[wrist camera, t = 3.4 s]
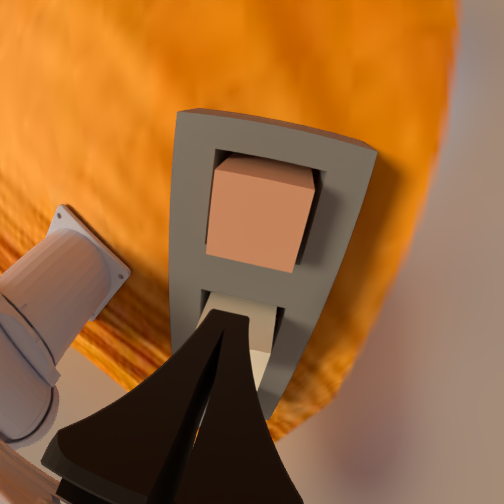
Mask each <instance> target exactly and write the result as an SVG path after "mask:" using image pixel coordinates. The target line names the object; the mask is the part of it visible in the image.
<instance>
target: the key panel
mask: <svg viewBox="0 0 504 504" xmlns="http://www.w3.org/2000/svg"><path fill="white" fill-rule="evenodd" d="M228 151H233V152H239V153H244V154H250V155H255V156H260V157H265V158H270V159H275V160H280V161H285V162H289V163H294V164H298V165H302V166H307V167H311V168H315V169H319V170H318V174H317V178H316V182H315V186H314V188H315V192H314V196H313V200H312V203H311V207H310V211H309V214H308V218H307V222H306V225H305V229H304V233H303V236H302V240H301V243H300V247H299V250H298V254H297V257H296V261H295V264H294V268H293V271H292V273H289V272H285V271H280V270H275V269H271V268H266V267H262V266H257V265H253V264H248V263H244V262H239V261H235V260H230V259H226V258H221V257H217V256H213V255H208V254H206V247H207V236H208V226H209V217H210V207H211V198H212V190H213V181H214V173H215V169H216V168H217V167H218V166H219V165H220V164H221V163H223V162H224V161H225V160H226V159H227V157H228ZM377 153H378V152H377V151H376V150H375V149H373V148H372V147H370V146H369V145H368V144H366V143H365V142H363V141H360V140H357V139H353V138H350V137H347V136H343V135H339V134H336V133H332V132H328V131H324V130H320V129H316V128H312V127H308V126H304V125H299V124H295V123H290V122H285V121H280V120H275V119H270V118H265V117H259V116H253V115H247V114H241V113H234V112H227V111H219V110H211V109H202V108H196V109H190V110H184V111H178V112H177V119H176V128H175V139H174V150H173V163H172V177H171V195H170V220H169V305H170V330H171V347H172V355H173V354H174V353H175V352H176V351H177V350H178V349H179V348H180V347H181V346H182V345H183V344H184V343H185V341H186V340H187V339H188V338H189V337H190V336H191V335H192V334H193V332H194V331H195V330H196V327H197V325H198V322H199V320H200V317H201V315H202V313H203V310H204V308H205V305H206V303H207V301H208V298H209V296H210V293H211V291H212V292H216V293H220V294H224V295H229V296H233V297H237V298H242V299H246V300H251V301H255V302H260V303H264V304H269V305H274V306H278V307H280V310H279V313H278V316H277V319H276V322H275V326H274V333H273V341H272V348H271V354H270V357H269V360H268V363H267V366H266V368H265V371H264V374H263V377H262V379H261V382H260V385H259V388H258V390H257V394H258V398H259V402H260V405H261V409H262V412H263V415H264V419H265V420H269V419H270V417H271V415H272V413H273V412H274V410H275V408H276V406H277V404H278V402H279V400H280V398H281V396H282V395H283V393H284V391H285V389H286V387H287V385H288V383H289V381H290V379H291V377H292V375H293V373H294V371H295V369H296V367H297V365H298V362H299V360H300V358H301V356H302V354H303V352H304V350H305V348H306V345H307V343H308V341H309V339H310V337H311V335H312V332H313V330H314V328H315V326H316V323H317V321H318V319H319V316H320V314H321V312H322V309H323V307H324V305H325V302H326V300H327V298H328V295H329V293H330V290H331V288H332V285H333V283H334V280H335V278H336V275H337V273H338V270H339V268H340V265H341V262H342V260H343V257H344V254H345V252H346V249H347V246H348V244H349V241H350V238H351V235H352V232H353V229H354V227H355V224H356V221H357V218H358V215H359V212H360V209H361V206H362V203H363V200H364V197H365V194H366V190H367V187H368V184H369V181H370V177H371V174H372V171H373V167H374V164H375V160H376V157H377Z"/></svg>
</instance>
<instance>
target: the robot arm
mask: <svg viewBox="0 0 504 504" xmlns="http://www.w3.org/2000/svg"><path fill="white" fill-rule="evenodd" d="M60 214H61V215H60ZM121 274H122V275H123V276H122V275H121ZM130 275H131V271H130V269H129V268H128V267H127V266H126V265H125V264H124V263H123V262H122V261H121V260H120V259H119V258H118V257H117V256H116V255H115V254H113V253H112V252H111V251H110V250H109V249H108V248H107V247H106V246H105V245H104V244H103V243H102V242H101V241H100V240H99V239H98V238H97V237H96V236H95V235H94V234H93V233H92V232H91V231H90V230H89V229H88V228H87V227H86V226H85V225H84V224H83V223H82V222H81V221H80V220H79V219H78V218H77V217H76V216H75V215H74V214H73V213H72V212H71V211H70V210H69V209H68V208H67V206H66V205H64V204H61V205H59V206H58V207H57V210H56V212H55V215H54V217H53V220H52V222H51V225H50V227H49V230H48V233H47V235H46V238H44V239H43V240H42V241H41V242H39V243H38V244H37V245H36V246H34V247H33V248H32V249H31V250H30V251H28V252H27V253H26V254H25V255H24V256H22V257H21V258H20V259H19V260H18V261H17V262H15V263H14V264H13V265H12V266H11V267H10V268H9V269H8V270H6V271H5V272H4V273H3V274H2V275H1V276H0V504H61V503H60V500H61V501H63V502H65V503H66V504H304V503H303V500H302V498H301V496H300V495H299V493H298V491H297V490H296V488H295V486H294V484H293V483H292V481H291V479H290V477H289V475H288V473H287V471H286V469H285V467H284V465H283V463H282V461H281V459H280V457H279V455H278V452H277V450H276V448H275V445H274V442H273V440H272V438H271V435H270V433H269V430H268V427H267V424H266V421H265V419H264V415H263V412H262V409H261V405H260V402H259V398H258V394H257V390H256V386H255V381H254V376H253V371H252V364H251V357H250V348H249V322H250V318H249V317H248V316H245V315H240V314H236V313H231V312H227V311H222V310H218V309H211V310H210V311H209V313H208V314H207V316H206V317H205V318H204V320H203V321H202V322H201V324H200V325H199V326H198V328H197V329H196V330H195V331H194V332H193V334H192V335H191V336H190V337H189V338H188V339H187V340H186V341H185V343H184V344H183V345H182V346H181V347H180V348H179V349H178V350H177V351H176V352H175V353H174V354H173V355H172V356H171V357H170V358H169V359H168V360H167V361H166V362H165V363H164V364H163V365H162V366H161V367H160V368H159V369H157V370H156V371H155V372H154V373H153V374H152V375H150V376H149V377H148V378H147V379H146V380H144V381H143V382H142V383H141V384H139V385H138V386H137V387H135V388H134V389H132V390H131V391H130V392H128V393H127V394H126V395H124V396H123V397H121V398H120V399H118V400H117V401H115V402H113V403H112V404H110V405H108V406H106V407H105V408H103V409H101V410H100V411H98V412H96V413H94V414H92V415H91V416H89V417H87V418H85V419H83V420H80V421H78V422H76V423H74V424H71V425H69V426H67V427H65V428H62V429H60V430H58V432H57V433H56V435H55V436H54V438H53V439H52V440H51V442H50V443H49V445H48V447H47V449H46V451H45V453H44V455H43V457H42V459H41V464H42V465H43V466H45V467H46V468H48V469H49V470H51V471H52V472H54V473H56V474H57V475H59V476H60V477H62V480H61V482H59V481H57V480H55V479H54V478H52V477H51V476H49V475H47V474H46V473H45V472H43V471H41V470H40V469H39V468H37V467H36V466H34V465H33V464H31V463H30V462H29V461H27V460H26V459H25V458H23V457H22V456H21V455H19V454H18V453H17V452H16V451H15V450H17V449H19V448H21V447H26V446H30V445H32V444H34V443H35V442H37V441H39V440H40V439H42V438H43V437H44V436H45V435H46V434H47V433H48V432H49V430H50V429H51V427H52V425H53V424H54V421H55V418H56V416H57V412H58V406H59V393H58V390H57V387H56V386H55V384H56V382H57V381H58V379H59V377H60V374H59V372H58V371H57V370H56V368H55V366H56V365H57V363H58V362H59V360H60V359H61V358H62V356H63V355H64V353H65V352H66V350H67V349H68V348H69V346H70V345H71V343H72V342H73V340H74V339H75V338H76V336H77V335H78V334H79V332H80V331H81V329H82V328H83V327H84V325H85V324H86V323H87V321H88V320H89V321H94V319H95V318H96V317H97V315H98V314H99V313H100V312H101V310H102V309H103V308H104V307H105V305H106V304H107V303H108V302H109V300H110V299H111V298H112V297H113V295H114V294H115V293H116V292H117V291H118V289H119V288H120V287H121V286H122V285H123V283H124V282H125V281H126V280H127V279H128V277H129V276H130ZM207 403H208V404H207ZM206 406H207V408H206ZM205 408H206V411H205ZM204 411H205V414H204ZM203 414H204V417H203V420H202V423H201V426H200V429H199V432H198V435H197V438H196V434H197V430H198V427H199V424H200V421H201V419H202V416H203ZM195 438H196V441H195ZM194 441H195V443H194ZM193 445H194V446H193ZM59 499H60V500H59Z"/></svg>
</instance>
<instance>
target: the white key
mask: <svg viewBox="0 0 504 504" xmlns="http://www.w3.org/2000/svg"><path fill="white" fill-rule="evenodd" d="M211 309H218V310H222V311H227V312H231V313H236V314H240V315H245V316H248V317H249V318H250V322H249V348H250V357H251V364H252V371H253V376H254V381H255V386H256V390H258V388H259V385H260V382H261V379H262V377H263V374H264V371H265V368H266V366H267V363H268V360H269V357H270V354H271V348H272V341H273V333H274V326H275V318H276V310H277V306H274V305H269V304H264V303H260V302H255V301H251V300H246V299H242V298H237V297H233V296H229V295H224V294H220V293H216V292H212V291H211V293H210V296H209V298H208V301H207V303H206V305H205V308H204V310H203V313H202V315H201V317H200V320H199V322H198V325H197V327H196V329H197V328H198V326H199V325H200V324H201V322H202V321H203V320H204V318H205V317H206V316H207V314H208V313H209V311H210V310H211Z"/></svg>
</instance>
